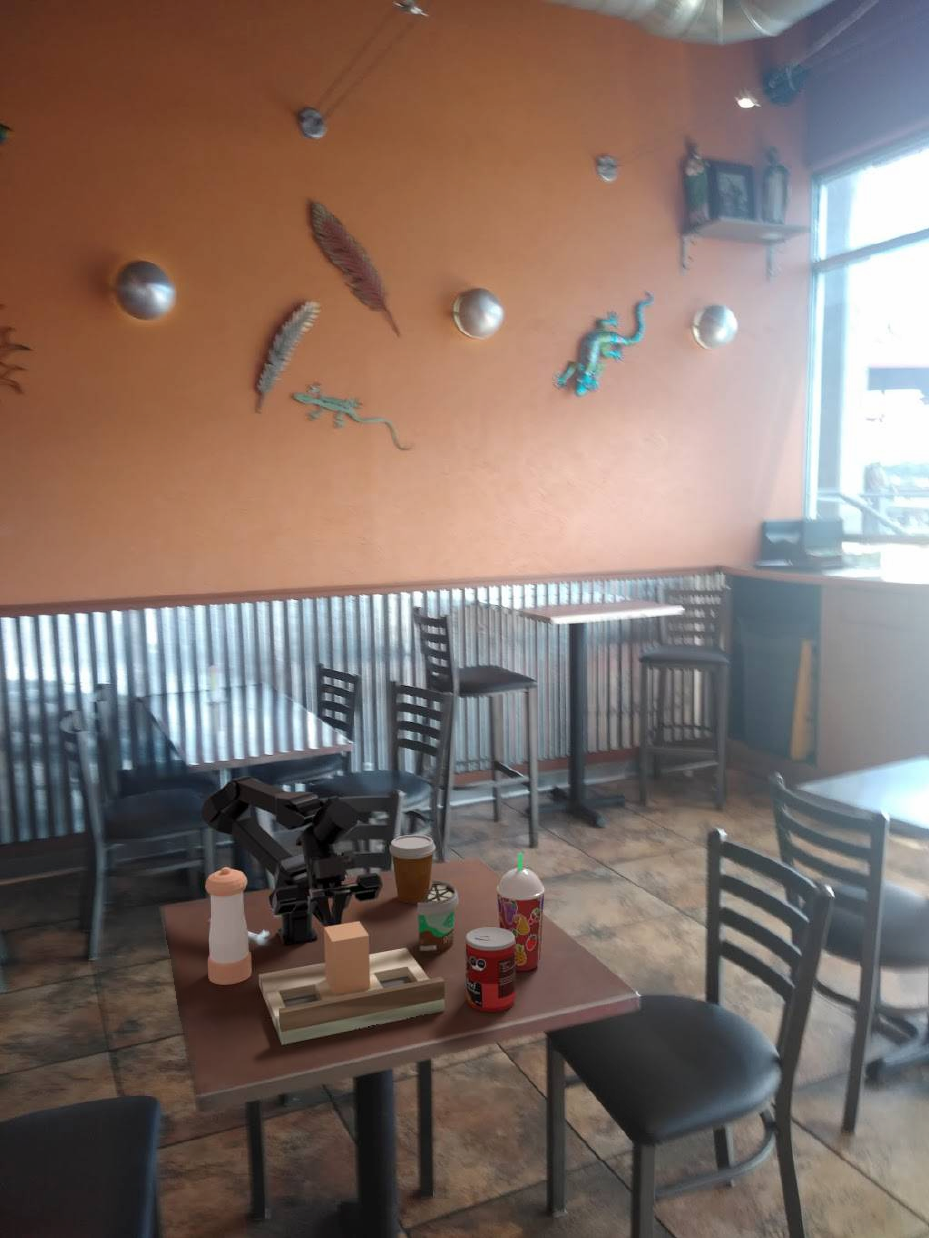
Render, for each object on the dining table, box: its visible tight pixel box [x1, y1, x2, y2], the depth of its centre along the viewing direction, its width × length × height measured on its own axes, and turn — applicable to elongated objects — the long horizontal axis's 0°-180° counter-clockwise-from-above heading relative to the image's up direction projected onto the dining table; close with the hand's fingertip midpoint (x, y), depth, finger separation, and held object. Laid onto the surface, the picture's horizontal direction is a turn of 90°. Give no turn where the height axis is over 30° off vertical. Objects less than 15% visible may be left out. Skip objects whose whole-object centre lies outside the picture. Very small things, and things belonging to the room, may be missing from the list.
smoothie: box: [496, 852, 546, 972], centre depth 170 cm, size 8×8×20 cm
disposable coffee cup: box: [388, 834, 436, 905], centre depth 201 cm, size 10×10×12 cm
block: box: [323, 920, 370, 995], centre depth 160 cm, size 6×6×9 cm
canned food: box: [465, 926, 516, 1013], centre depth 157 cm, size 8×8×11 cm
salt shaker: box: [204, 866, 252, 986], centre depth 167 cm, size 7×7×19 cm
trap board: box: [258, 947, 446, 1046], centre depth 159 cm, size 20×26×5 cm
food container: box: [416, 879, 460, 956], centre depth 179 cm, size 12×6×10 cm, turn 168°
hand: (336, 940), depth 166 cm, fingers closed
